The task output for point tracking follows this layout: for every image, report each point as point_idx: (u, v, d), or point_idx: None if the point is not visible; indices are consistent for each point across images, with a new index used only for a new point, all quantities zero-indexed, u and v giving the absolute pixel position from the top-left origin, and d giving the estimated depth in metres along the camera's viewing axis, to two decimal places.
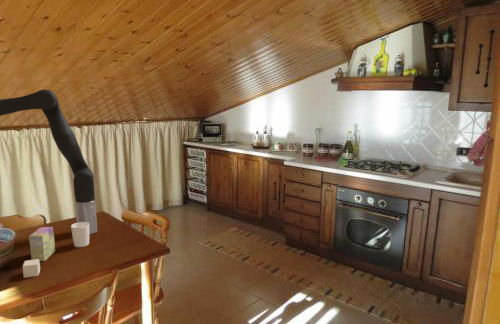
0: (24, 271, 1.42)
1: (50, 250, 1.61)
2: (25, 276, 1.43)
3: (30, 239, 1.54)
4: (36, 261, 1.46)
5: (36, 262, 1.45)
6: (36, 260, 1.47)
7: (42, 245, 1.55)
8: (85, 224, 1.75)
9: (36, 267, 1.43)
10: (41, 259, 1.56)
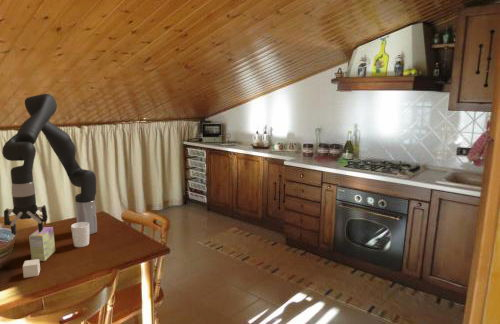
0: (24, 271, 1.42)
1: (50, 250, 1.61)
2: (25, 276, 1.43)
3: (30, 239, 1.54)
4: (36, 261, 1.46)
5: (36, 262, 1.45)
6: (36, 260, 1.47)
7: (42, 245, 1.55)
8: (85, 224, 1.75)
9: (36, 267, 1.43)
10: (41, 259, 1.56)
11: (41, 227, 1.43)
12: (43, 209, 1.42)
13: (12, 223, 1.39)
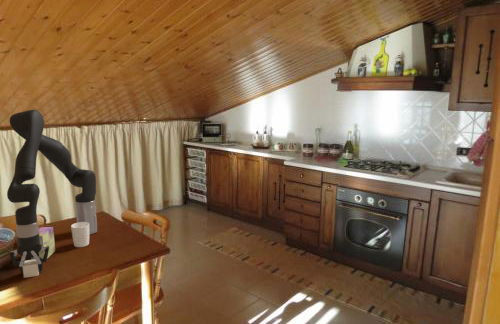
0: (24, 271, 1.42)
1: (50, 250, 1.61)
2: (25, 276, 1.43)
3: None
4: (36, 261, 1.46)
5: (36, 262, 1.45)
6: None
7: (42, 245, 1.55)
8: (85, 224, 1.75)
9: (36, 267, 1.43)
10: None
11: (41, 267, 1.46)
12: (46, 250, 1.45)
13: (21, 264, 1.42)
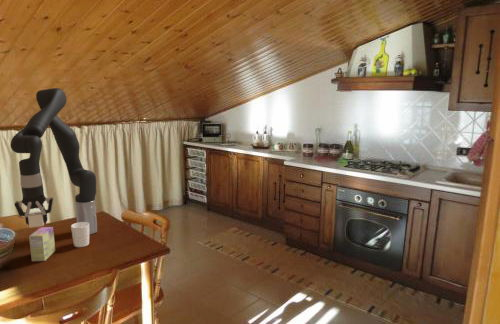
0: (29, 221, 1.46)
1: (50, 250, 1.61)
2: (30, 226, 1.47)
3: (30, 239, 1.54)
4: (41, 212, 1.50)
5: (41, 213, 1.49)
6: (40, 211, 1.51)
7: (42, 245, 1.55)
8: (85, 224, 1.75)
9: (41, 217, 1.48)
10: (41, 259, 1.56)
11: (46, 218, 1.50)
12: (50, 201, 1.49)
13: (26, 214, 1.47)
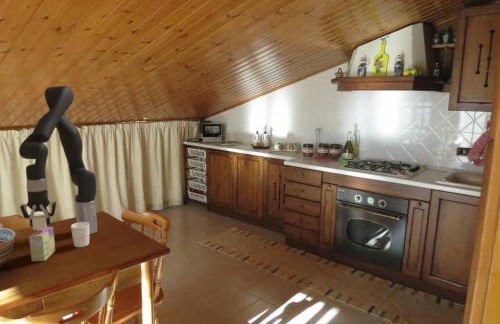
0: (33, 223, 1.55)
1: (50, 250, 1.61)
2: (34, 228, 1.55)
3: (30, 239, 1.54)
4: (44, 215, 1.58)
5: (44, 216, 1.57)
6: (44, 214, 1.59)
7: (42, 245, 1.55)
8: (85, 224, 1.75)
9: (44, 220, 1.56)
10: (41, 259, 1.56)
11: (49, 221, 1.58)
12: (54, 205, 1.57)
13: (31, 217, 1.55)
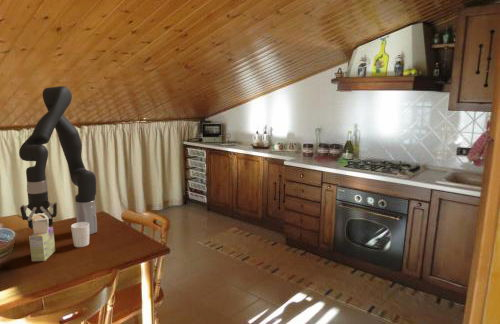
0: (34, 228, 1.55)
1: (50, 250, 1.61)
2: (35, 232, 1.56)
3: (30, 239, 1.54)
4: (45, 219, 1.59)
5: (45, 220, 1.58)
6: (45, 219, 1.60)
7: (42, 245, 1.55)
8: (85, 224, 1.75)
9: (45, 224, 1.56)
10: (41, 259, 1.56)
11: (51, 222, 1.59)
12: (54, 206, 1.58)
13: (29, 218, 1.55)
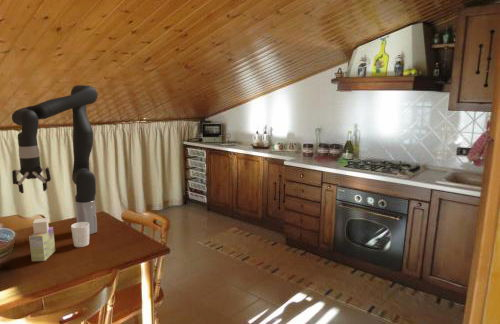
0: (34, 227, 1.55)
1: (50, 250, 1.61)
2: (35, 232, 1.56)
3: (30, 239, 1.54)
4: (45, 219, 1.59)
5: (45, 220, 1.58)
6: (45, 219, 1.60)
7: (42, 245, 1.55)
8: (85, 224, 1.75)
9: (45, 224, 1.57)
10: (41, 259, 1.56)
11: (45, 186, 1.61)
12: (47, 170, 1.59)
13: (19, 182, 1.56)
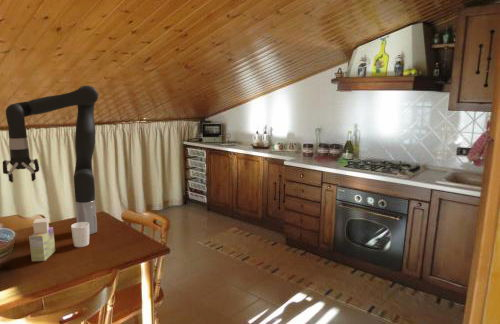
0: (34, 227, 1.55)
1: (50, 250, 1.61)
2: (35, 232, 1.56)
3: (30, 239, 1.54)
4: (45, 219, 1.59)
5: (45, 220, 1.58)
6: (45, 218, 1.60)
7: (42, 245, 1.55)
8: (85, 224, 1.75)
9: (45, 224, 1.57)
10: (41, 259, 1.56)
11: (34, 177, 1.71)
12: (35, 161, 1.69)
13: (9, 172, 1.66)
